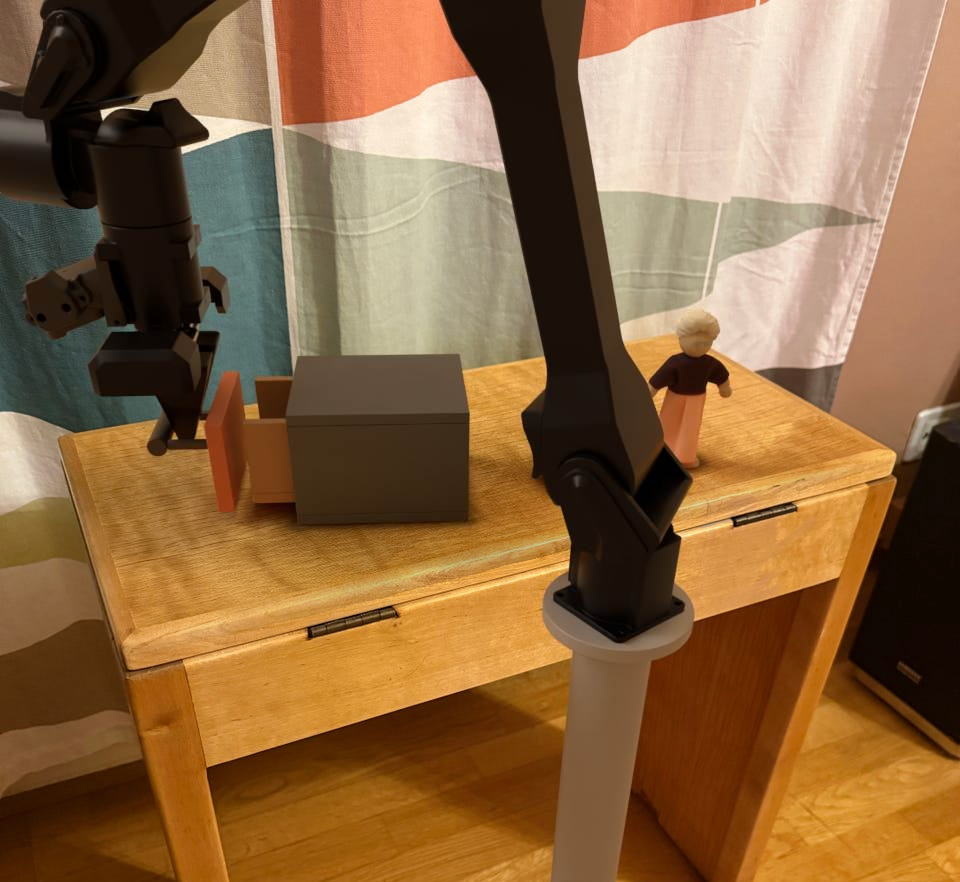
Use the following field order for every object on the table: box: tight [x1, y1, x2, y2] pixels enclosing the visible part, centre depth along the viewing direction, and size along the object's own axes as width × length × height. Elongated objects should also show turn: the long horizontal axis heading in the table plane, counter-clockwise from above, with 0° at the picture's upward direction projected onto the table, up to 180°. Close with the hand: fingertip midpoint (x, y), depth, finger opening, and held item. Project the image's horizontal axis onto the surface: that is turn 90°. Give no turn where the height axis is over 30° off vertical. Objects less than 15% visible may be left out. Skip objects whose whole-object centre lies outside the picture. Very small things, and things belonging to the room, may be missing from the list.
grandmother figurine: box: [647, 307, 733, 469], centre depth 75 cm, size 8×4×13 cm, turn 114°
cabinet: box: [285, 353, 471, 526], centre depth 72 cm, size 13×11×9 cm
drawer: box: [146, 370, 295, 513], centre depth 71 cm, size 16×10×7 cm, turn 95°
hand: (187, 439), depth 71 cm, fingers closed
